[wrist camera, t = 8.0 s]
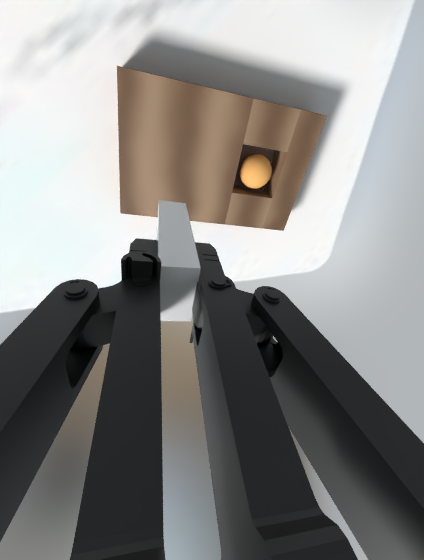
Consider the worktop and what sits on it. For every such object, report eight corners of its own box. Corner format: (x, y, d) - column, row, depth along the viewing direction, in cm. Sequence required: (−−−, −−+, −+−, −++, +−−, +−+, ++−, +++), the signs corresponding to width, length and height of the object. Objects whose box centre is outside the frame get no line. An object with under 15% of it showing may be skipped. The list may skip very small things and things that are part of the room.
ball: (251, 149, 33) (237, 152, 30) (280, 156, 32) (267, 159, 29) (245, 181, 35) (231, 186, 33) (271, 188, 34) (259, 195, 31)
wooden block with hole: (123, 202, 34) (120, 213, 31) (121, 67, 26) (117, 65, 23) (274, 220, 39) (283, 230, 36) (311, 113, 31) (326, 115, 28)
